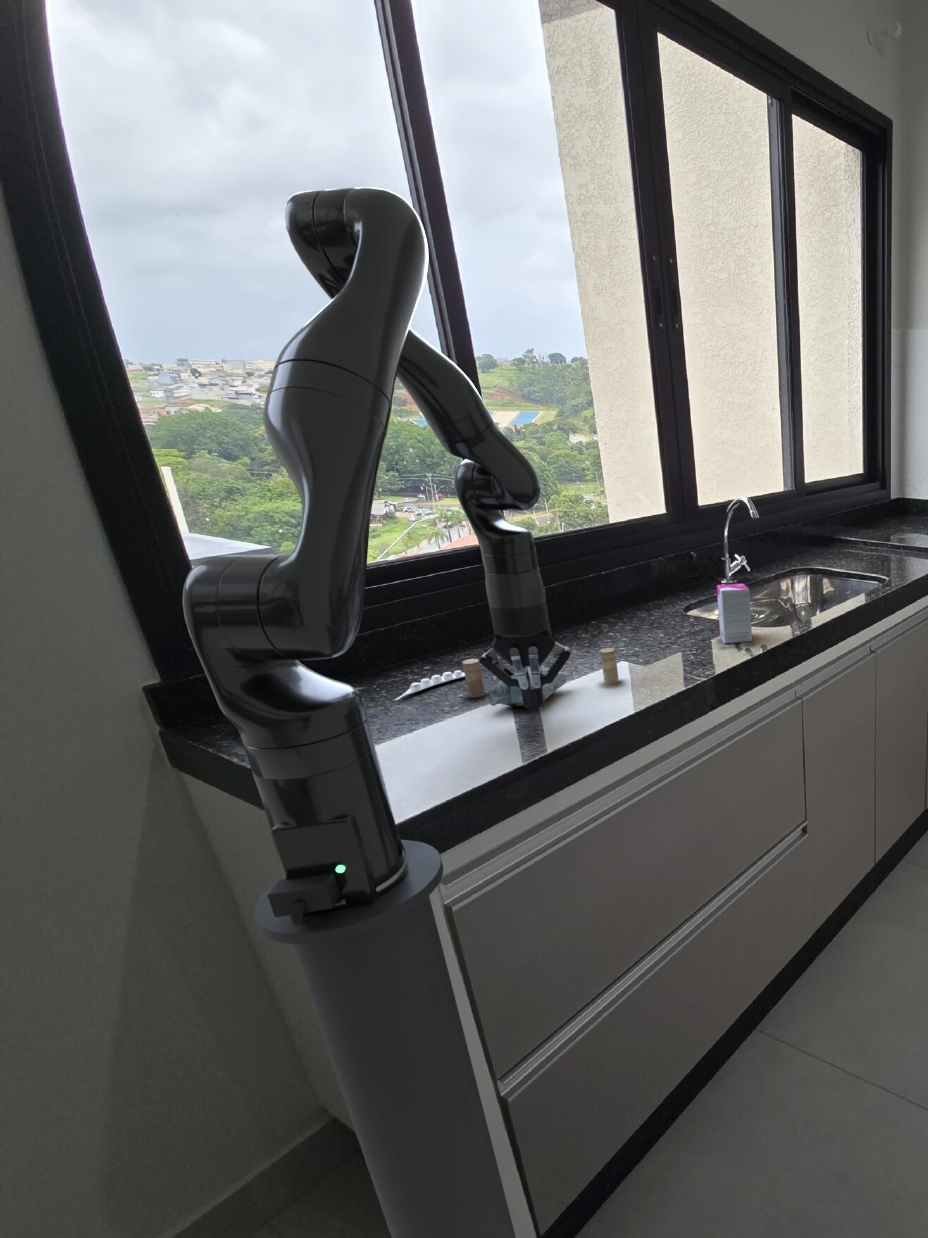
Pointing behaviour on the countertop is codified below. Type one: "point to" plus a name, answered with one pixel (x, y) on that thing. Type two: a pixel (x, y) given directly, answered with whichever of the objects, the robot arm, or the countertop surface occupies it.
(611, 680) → the marker peg right
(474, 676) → the marker peg left
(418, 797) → the countertop surface
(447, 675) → the pea pod
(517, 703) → the packaged food
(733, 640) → the supplement box
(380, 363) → the robot arm
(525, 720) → the countertop surface
